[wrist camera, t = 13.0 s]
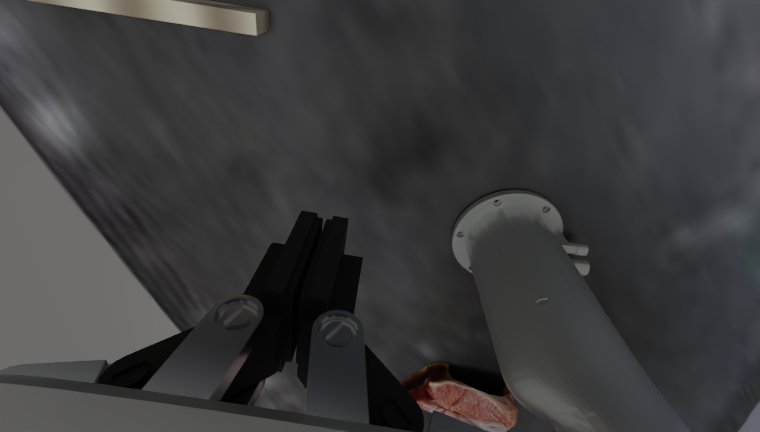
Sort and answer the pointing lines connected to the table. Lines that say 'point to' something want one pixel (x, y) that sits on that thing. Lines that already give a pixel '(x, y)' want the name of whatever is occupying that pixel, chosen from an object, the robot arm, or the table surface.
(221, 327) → the robot arm
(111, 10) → the bay
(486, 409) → the meat
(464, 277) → the table surface
